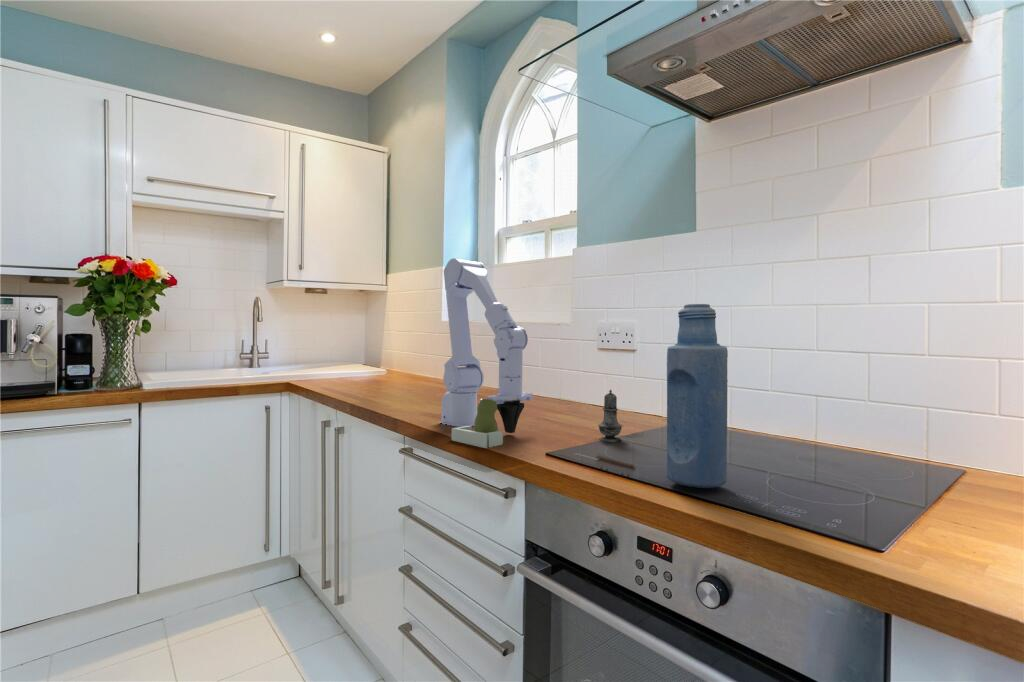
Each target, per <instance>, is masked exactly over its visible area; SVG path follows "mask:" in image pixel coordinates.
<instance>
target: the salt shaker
mask: <svg viewBox="0 0 1024 682" xmlns="http://www.w3.org/2000/svg"><path fill="white" fill-rule="evenodd" d="M617 397H618V396H617V395H616V394H614V393H613V392H612V389H610V390H609V391H608V393H606V394H605V395H604V399H603V400H604V401H603V402H604V403H603V404H604V407H602V410H603V419H602V422H601V423H598V424H597V426H598V430H599V433H600V434H601V435H603V436H601V437H600V438H598V440H599V441H601V442H605V443H618V442H621V441H622V439H621V438H620V437H619V435H620V433H621V431H622V428H623V424H621V423H619V422H618V421H619V420H618V411H619V408H618V407H617V401H618V399H617ZM617 436H618V437H617Z"/></svg>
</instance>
